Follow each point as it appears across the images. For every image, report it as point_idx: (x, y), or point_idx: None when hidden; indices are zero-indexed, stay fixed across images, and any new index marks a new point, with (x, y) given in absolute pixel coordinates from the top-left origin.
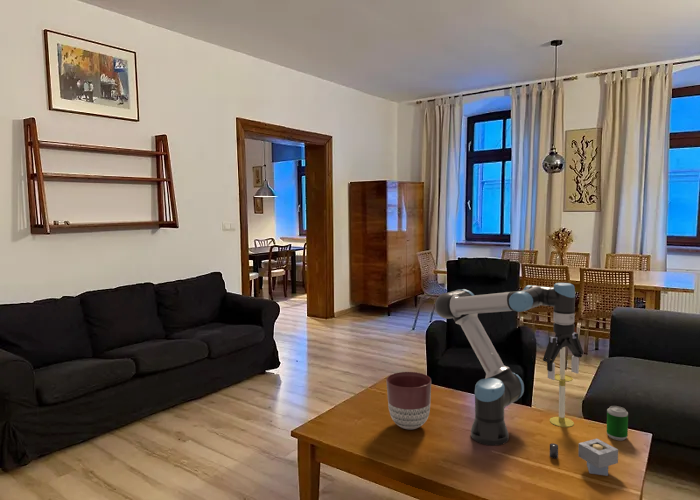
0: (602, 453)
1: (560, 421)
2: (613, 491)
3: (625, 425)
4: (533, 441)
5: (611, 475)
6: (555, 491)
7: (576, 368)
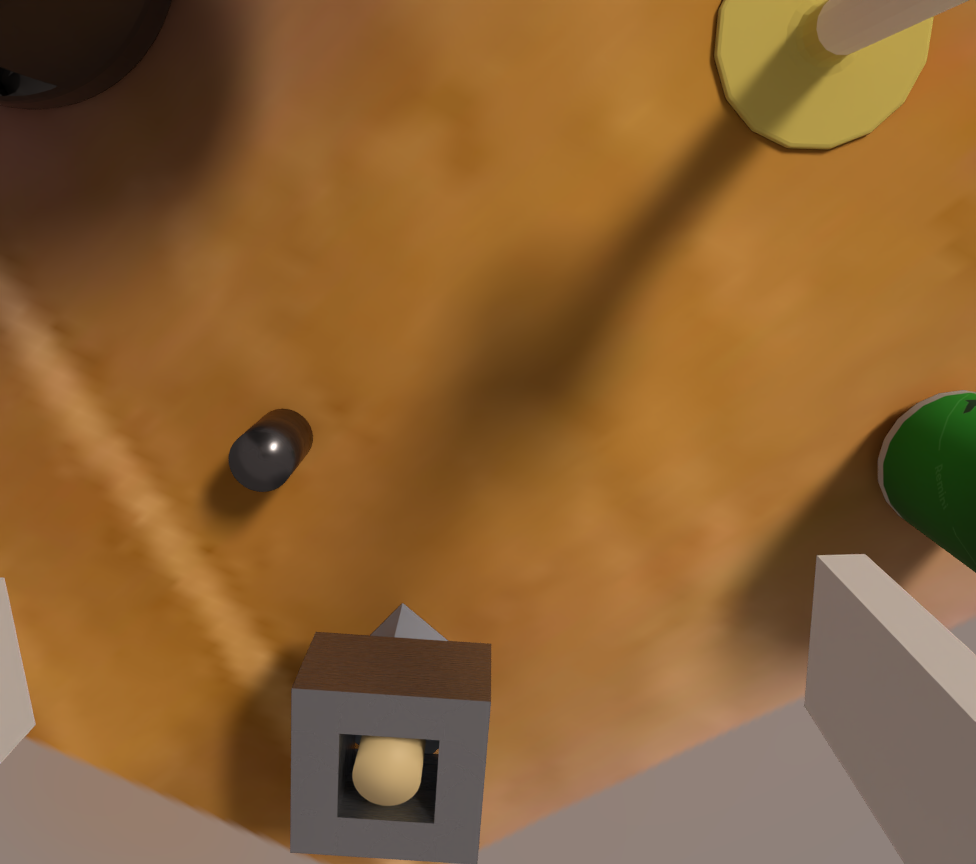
0: (328, 850)
1: (800, 43)
2: None
3: None
4: (314, 193)
5: None
6: None
7: (860, 767)
